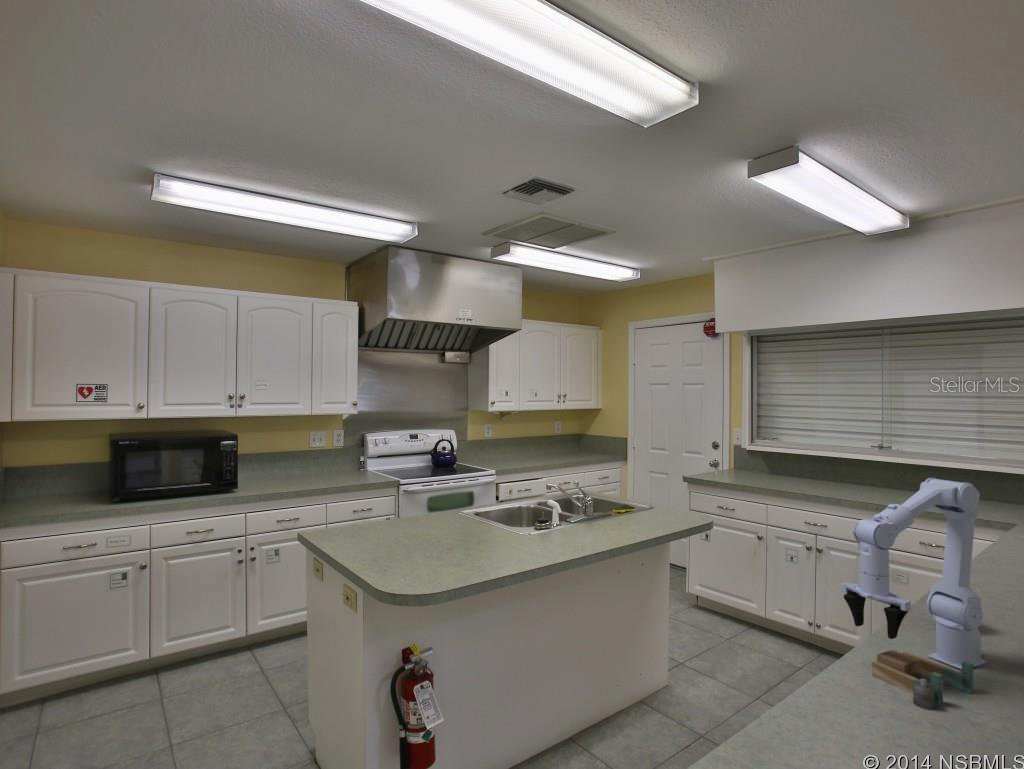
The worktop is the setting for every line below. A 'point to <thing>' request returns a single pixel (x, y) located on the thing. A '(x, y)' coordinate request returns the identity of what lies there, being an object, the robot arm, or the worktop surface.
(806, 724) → the worktop surface
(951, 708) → the worktop surface
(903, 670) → the brown wooden block
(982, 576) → the worktop surface
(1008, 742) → the worktop surface
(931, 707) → the bay
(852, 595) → the robot arm
